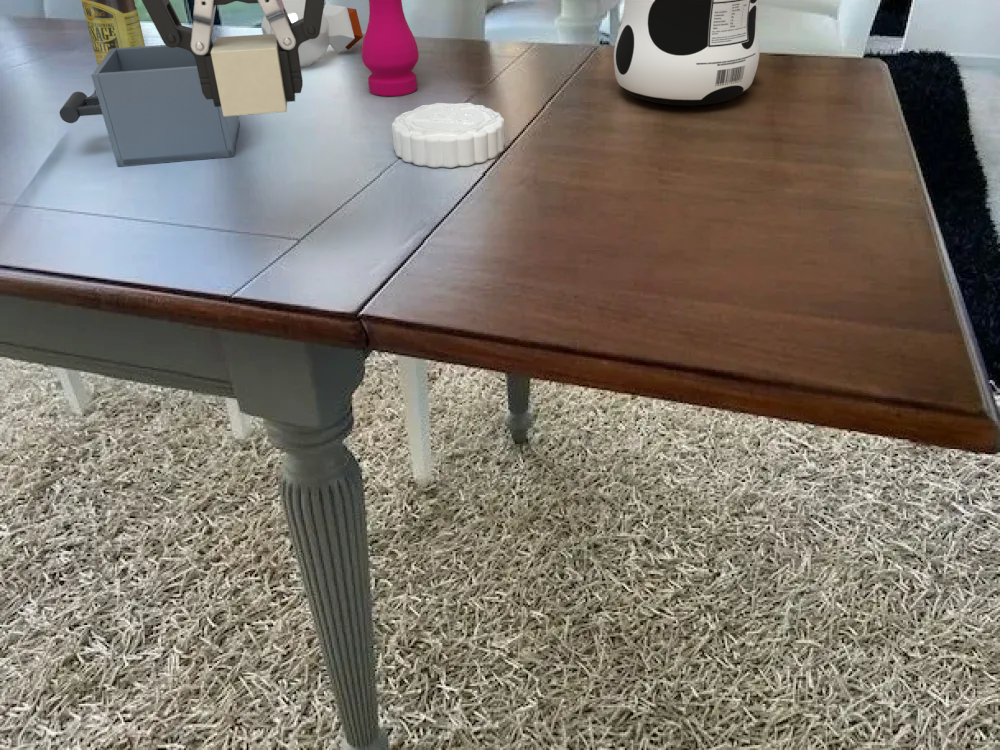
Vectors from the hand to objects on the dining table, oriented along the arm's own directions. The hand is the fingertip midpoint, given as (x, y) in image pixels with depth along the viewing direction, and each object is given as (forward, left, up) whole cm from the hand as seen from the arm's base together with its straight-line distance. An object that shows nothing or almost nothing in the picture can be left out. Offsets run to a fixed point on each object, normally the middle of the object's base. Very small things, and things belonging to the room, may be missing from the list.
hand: (255, 100), depth 64 cm
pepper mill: (+13, +47, -13) cm, 51 cm away
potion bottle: (+3, +65, -13) cm, 67 cm away
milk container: (+48, +35, -13) cm, 61 cm away
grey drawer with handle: (-14, +32, -13) cm, 38 cm away
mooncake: (+17, +23, -13) cm, 32 cm away
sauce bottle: (-21, +55, -13) cm, 60 cm away
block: (0, 0, 0) cm, 0 cm away
